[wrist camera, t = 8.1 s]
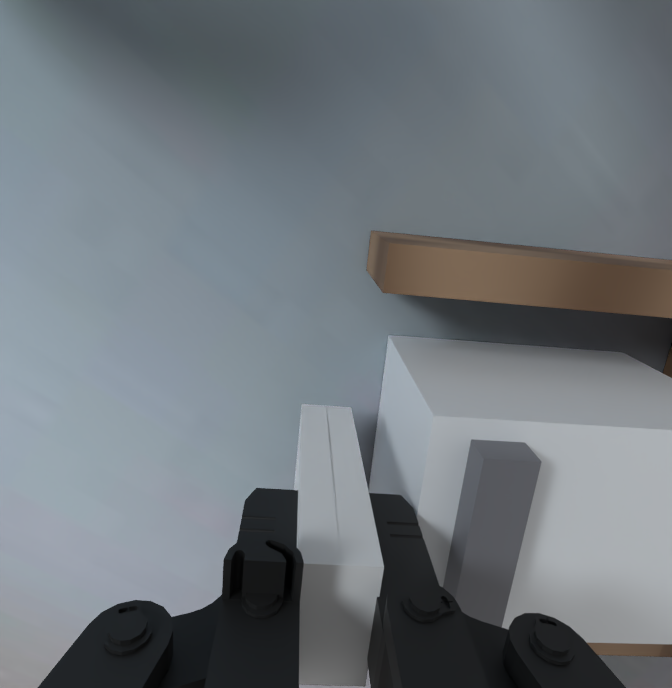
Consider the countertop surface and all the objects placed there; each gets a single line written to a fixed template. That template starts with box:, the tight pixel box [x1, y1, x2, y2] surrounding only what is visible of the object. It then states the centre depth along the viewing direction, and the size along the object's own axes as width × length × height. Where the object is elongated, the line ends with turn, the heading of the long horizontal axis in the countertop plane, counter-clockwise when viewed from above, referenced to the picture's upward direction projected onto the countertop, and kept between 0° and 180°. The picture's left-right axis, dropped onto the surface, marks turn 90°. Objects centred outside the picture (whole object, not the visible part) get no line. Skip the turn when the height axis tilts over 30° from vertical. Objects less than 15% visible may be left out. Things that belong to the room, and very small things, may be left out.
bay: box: [367, 231, 672, 657], centre depth 16 cm, size 12×12×4 cm
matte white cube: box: [369, 335, 672, 644], centre depth 14 cm, size 8×6×7 cm
